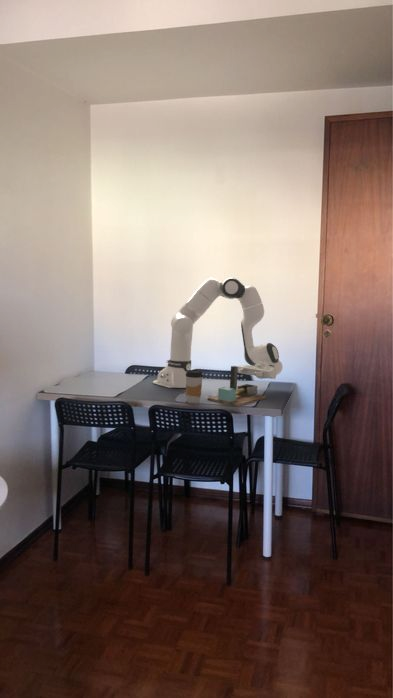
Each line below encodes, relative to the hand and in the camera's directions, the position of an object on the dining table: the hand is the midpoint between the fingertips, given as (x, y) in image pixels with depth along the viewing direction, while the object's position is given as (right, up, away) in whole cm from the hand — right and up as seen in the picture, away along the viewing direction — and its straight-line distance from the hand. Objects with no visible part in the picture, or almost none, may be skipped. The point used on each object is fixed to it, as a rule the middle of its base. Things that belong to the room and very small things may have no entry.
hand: (247, 373), depth 297 cm
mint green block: (-11, -14, -12) cm, 22 cm away
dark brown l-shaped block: (-7, -11, -8) cm, 15 cm away
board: (-6, -13, -5) cm, 15 cm away
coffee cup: (-28, -14, -15) cm, 34 cm away
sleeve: (0, -11, +2) cm, 11 cm away
